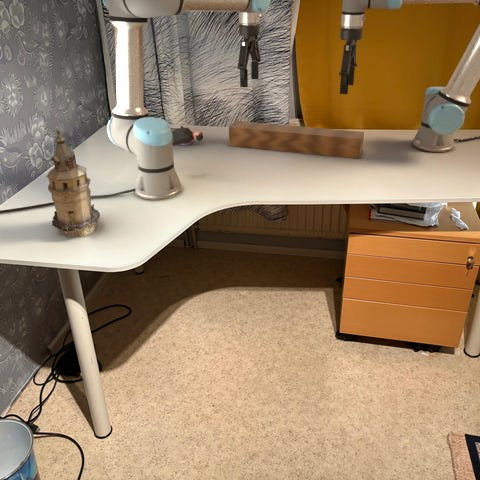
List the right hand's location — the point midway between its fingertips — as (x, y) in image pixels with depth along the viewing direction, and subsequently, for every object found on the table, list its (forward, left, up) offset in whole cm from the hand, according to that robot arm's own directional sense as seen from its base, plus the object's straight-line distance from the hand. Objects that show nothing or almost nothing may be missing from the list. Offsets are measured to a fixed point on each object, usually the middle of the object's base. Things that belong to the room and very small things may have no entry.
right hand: (346, 89), depth 195 cm
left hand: (+19, -32, 0) cm, 37 cm away
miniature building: (+104, -12, -24) cm, 108 cm away
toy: (+42, -56, -24) cm, 74 cm away
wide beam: (+9, -16, -24) cm, 31 cm away
